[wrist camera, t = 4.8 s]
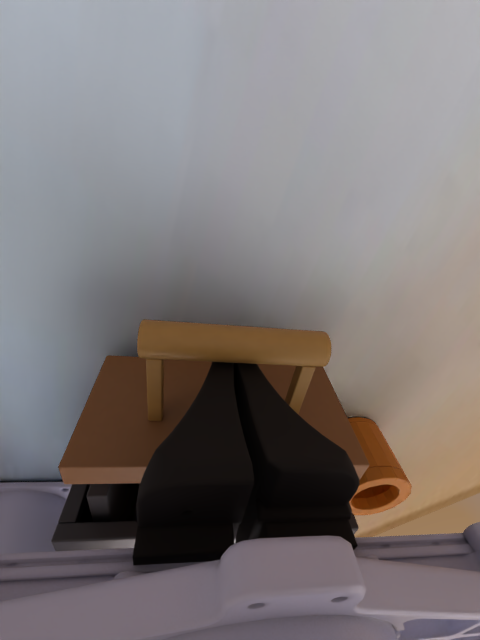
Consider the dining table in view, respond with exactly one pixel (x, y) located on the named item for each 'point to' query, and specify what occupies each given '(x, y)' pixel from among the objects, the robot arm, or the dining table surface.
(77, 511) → the cabinet
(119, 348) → the dining table surface
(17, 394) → the dining table surface
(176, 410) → the drawer
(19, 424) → the dining table surface
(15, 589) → the robot arm
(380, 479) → the jar
